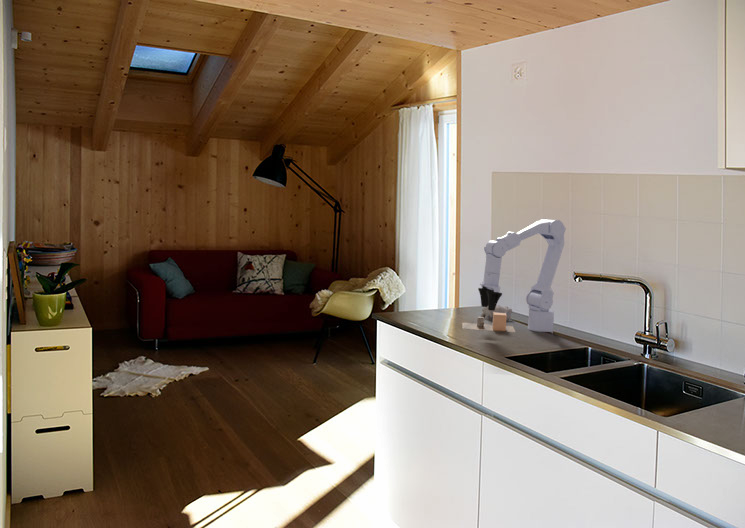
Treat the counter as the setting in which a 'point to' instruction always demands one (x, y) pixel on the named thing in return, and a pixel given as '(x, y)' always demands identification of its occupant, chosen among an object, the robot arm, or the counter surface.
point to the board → (484, 326)
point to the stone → (498, 309)
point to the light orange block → (499, 321)
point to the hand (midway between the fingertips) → (487, 308)
